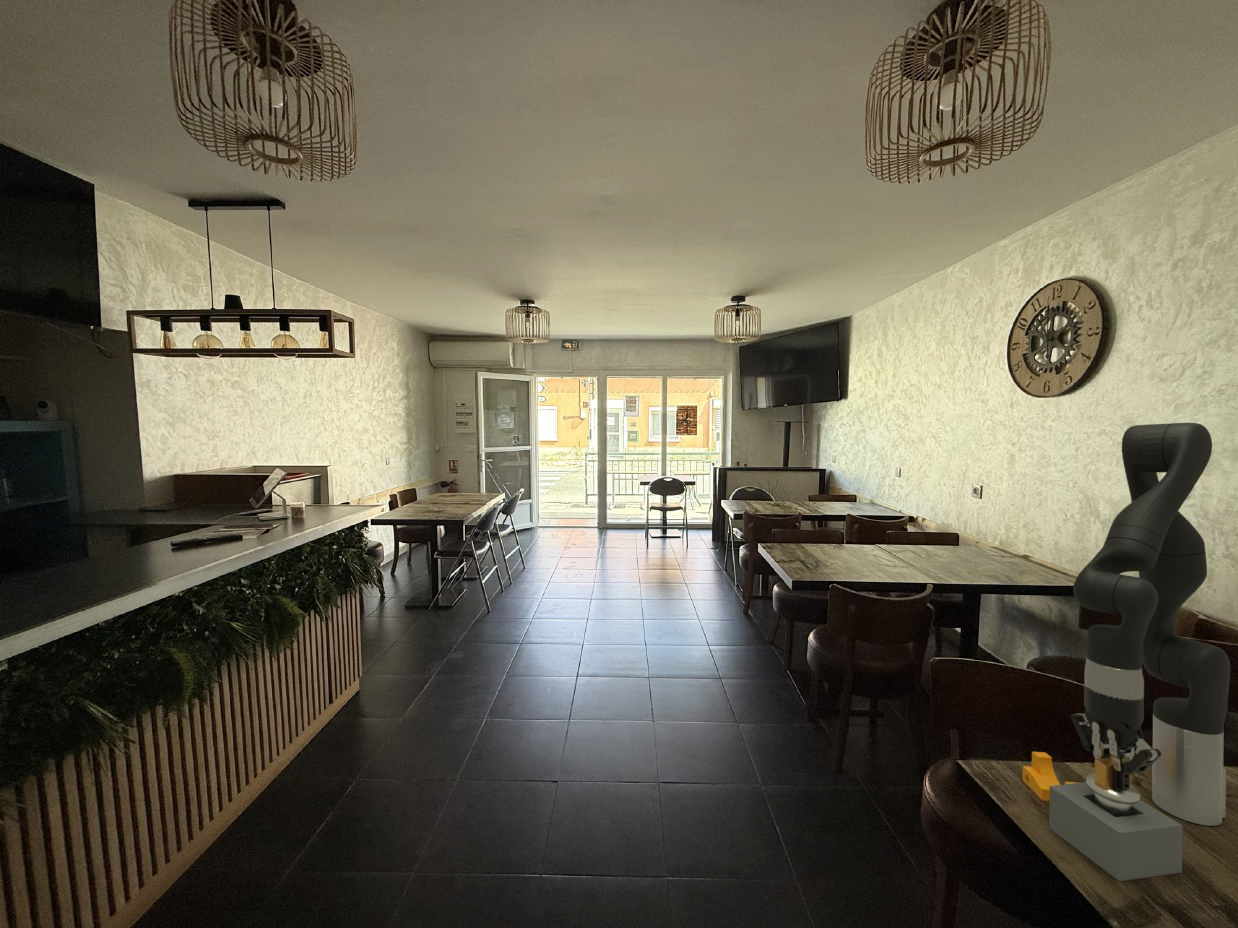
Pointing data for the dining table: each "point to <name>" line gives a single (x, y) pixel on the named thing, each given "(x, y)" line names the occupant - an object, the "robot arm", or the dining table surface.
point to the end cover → (1110, 790)
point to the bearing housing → (1116, 834)
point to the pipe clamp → (1041, 775)
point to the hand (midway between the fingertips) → (1112, 785)
